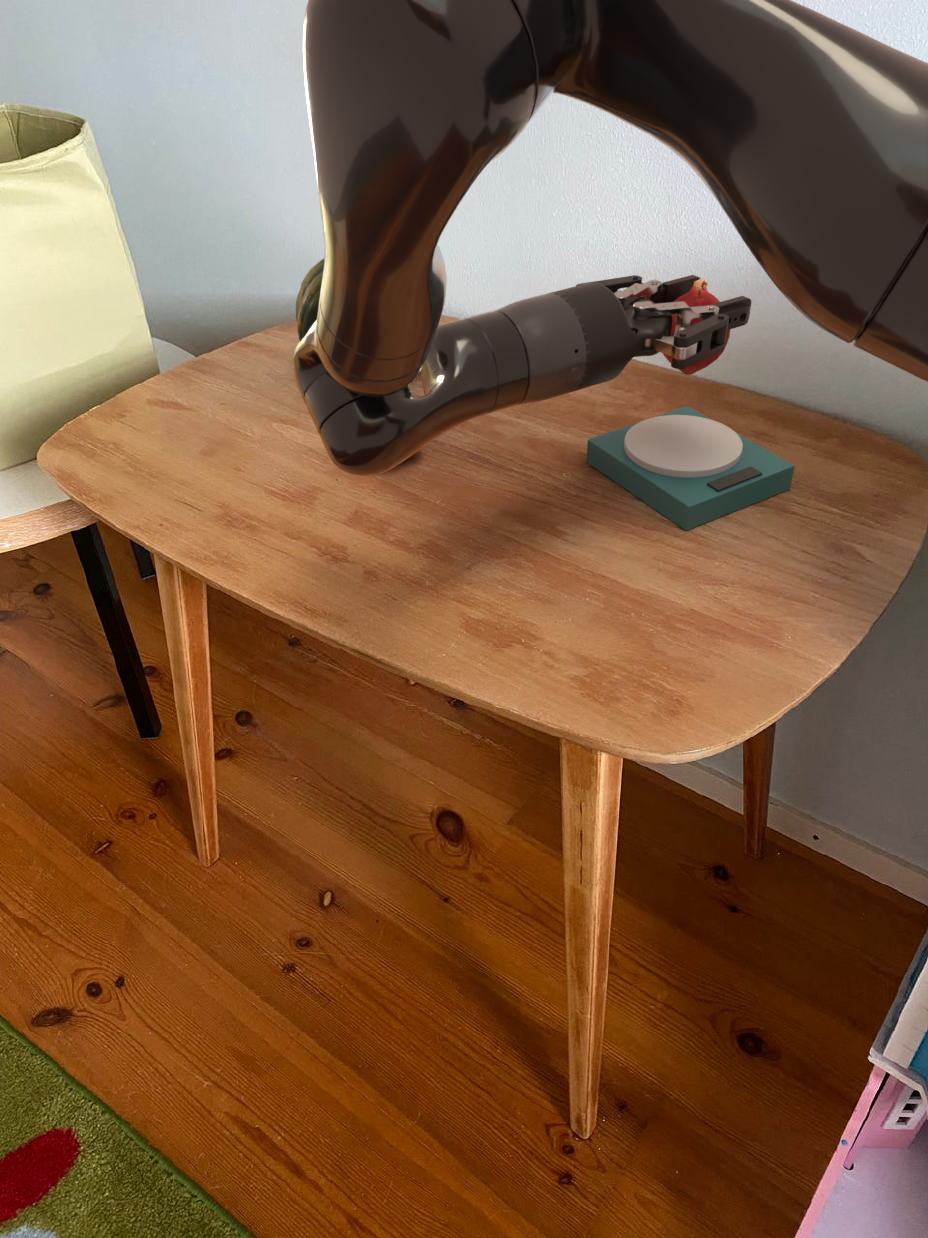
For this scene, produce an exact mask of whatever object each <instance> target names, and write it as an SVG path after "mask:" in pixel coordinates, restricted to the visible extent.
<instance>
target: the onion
mask: <svg viewBox="0 0 928 1238" xmlns="http://www.w3.org/2000/svg"><path fill="white" fill-rule="evenodd" d="M707 286H708V282H707V281H706V280H704V279H702V278H701V279H699V280H697V281H695V282H694V286H693V288H692V289H691V290H690V292H688V293H686V294H684V295H682V296H680V297H679V298H677V299H676V300H675V301H674V302H681V301H683V302H686V303H687V304H688V305H689V307H696V306H708V305H711V304H715V303H718V302H721V301H720V300H719V299H718V298H717V297H716V296H715V295H713V293H711V292H709V291H708V288H707ZM676 319H677V314H674V315H672V329H671V335H670V336H673V335H674V334H675V328H676ZM701 321H702V318H694V319H692V320H691V324H690V326H692V325H694V324H696V323H699V322H701ZM730 336H731V329H730V330H727V336H726V343H725V348H726V347H727V346H728V342H729V340H730ZM724 352H725V349H723V350H721V351H719V352H717V353H715V354H713V355H711V356H709V357H707V358H705V359H703V360H701V361H699V362H697V363H695V364H693V365H691V366H689V367H687V368H684V369H677V370H678V371H680V372H681V373H682V374H683V375H686V376H691V375H694V374H695V373H697V372H700V371H702V370H704V369H705V368H707V367H709V366H710V365H711V364H713V363H714V362H715V361H717V360H718V359H719V358H720V357H721V355H722V354H723V353H724ZM662 355H663V356H664V358H665V359H666V360H667V361H668V363H670V364H671V361H672V356H669V355H666V354H664V353H662Z"/></svg>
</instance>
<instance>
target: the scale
mask: <svg viewBox="0 0 928 1238" xmlns="http://www.w3.org/2000/svg"><path fill="white" fill-rule="evenodd" d="M586 443H587V444H586V463H587V464H588V465H590V466H591V467H593V468H594V469H596V470H597V471H599V472H600V473H601V474H603V475H604V476H606V477H607V478H609V479H610V480H612V481H613V482H614V483H616V484H617V485H619V486H620V487H622V488H623V489H625V490H626V491H627V492H628V493H630V494H632V495H633V496H635V497H636V498H638V499H639V500H641V501H642V502H643V503H645V504H646V505H648V506H649V507H651V508H652V509H653V510H655V511H656V512H658V513H659V514H661V515H662V516H664V517H665V518H667V519H668V520H669V521H671V522H673V524H675V525H677V526H678V527H679V528H681V529H683V530H684V531H689V530H692V529H694V528H697V527H699V526H701V525H704V524H707V523H710V522H712V521H713V520H714V521H715V520H717V519H719V518H722V517H725V516H726V515H727V516H728V515H730V514H731V513H734V512H736V511H739V510H742V509H744V508H747V507H749V506H752V505H754V504H757V503H759V502H762V501H765V500H766V499H769V498H772V497H774V496H777V495H779V494H781V493H785V492H786V491H789V490H790V489H791V487H792V483H793V482H792V481H793V476H794V472H795V471H794V470H795V465H794V464H792V463H791V462H789V461H787V460H786V459H784V458H782V457H780V456H778V455H776V454H775V453H773V452H771V451H769V450H767V449H766V448H764V447H762V446H760V445H759V444H756V443H755V442H753V441H751V440H750V439H748V438H746V437H744V436H742V435H741V434H739V433H737V432H736V431H734V430H733V429H732V428H731V427H729V426H727V425H726V424H724V423H721V422H718V421H716V420H714V419H712V418H710V417H708V416H707V415H705V414H704V413H702V412H700V411H697V410H696V409H694V408H692V407H691V406H689V405H686V406H683V407H680V408H676V409H674V410H671V411H668V412H664V413H661V414H659V415H656V416H654V417H650V418H647V419H644V420H641V421H638V422H635V423H633V424H629V425H627V426H623V427H621V428H618V429H615V430H612V431H609V432H605V433H604V434H603V433H602V434H599V435H597V436H594V437H591V438H589V439H587V441H586Z"/></svg>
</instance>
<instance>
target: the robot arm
mask: <svg viewBox="0 0 928 1238" xmlns="http://www.w3.org/2000/svg"><path fill="white" fill-rule="evenodd" d="M303 22H304V23H303V34H302V57H303V59H302V60H303V75H304V76H303V77H304V88H305V98H306V105H307V107H306V108H307V114H308V120H309V128H310V134H311V135H310V136H311V142H312V149H313V156H314V157H313V158H314V166H315V167H314V168H315V176H316V184H317V192H318V201H319V208H320V215H321V222H322V231H323V233H322V234H323V243H324V256H323V257H324V258H323V259H324V270H323V278H322V285H321V291H320V299H319V307H318V315H317V320H316V321H315V322H314V324H313V325H312V326H311V328H310V329H309V331H308V332H307V334H306V335H305V336H304V338H303V339H302V340H301V341H299V342H298V344H297V345H296V347H295V348H294V351H293V354H292V369H293V375H294V380H295V383H296V386H297V388H298V391H299V393H300V395H301V398H302V400H303V402H304V405H305V406H306V409H307V411H308V413H309V415H310V417H311V419H312V421H313V424H314V426H315V428H316V430H317V433H318V434H319V437H320V440H321V442H322V444H323V446H324V449H325V450H326V453H327V454H328V456H329V458H330V460H331V461H332V463H333V464H334V466H335V467H337V468H338V469H339V470H341V471H343V472H345V473H347V474H350V475H354V476H358V477H372V476H377V475H381V474H384V473H386V472H388V471H390V470H392V469H393V468H396V467H397V466H399V465H401V464H402V463H403V462H404V461H406V460H407V459H409V458H410V457H412V456H413V455H414V454H416V453H417V452H418V451H420V450H421V449H423V448H424V447H426V446H427V445H428V444H430V443H432V442H433V441H435V440H436V439H438V438H439V437H441V436H442V435H444V434H446V433H447V432H450V431H451V430H453V429H455V428H457V427H459V426H460V425H463V424H465V423H467V422H468V421H471V420H474V419H476V418H479V417H482V416H486V415H488V414H491V413H495V412H498V411H502V410H505V409H508V408H512V407H515V406H519V405H523V404H525V405H526V404H532V403H538V402H543V401H547V400H550V399H554V398H557V397H560V396H563V395H566V394H570V393H573V392H574V393H575V392H576V391H580V390H583V389H586V388H590V387H594V386H596V385H600V384H603V383H607V382H610V381H612V380H614V379H616V378H617V377H618V376H619V375H620V374H621V373H622V372H623V371H624V369H625V368H626V367H627V365H628V364H629V363H630V362H631V361H632V359H634V358H640V357H652V356H655V355H658V354H659V353H661V354H663V353H664V354H666V355H669V356H672V361H671V363H670V367H671V368H673V369H676V370H678V369H684V368H687V367H689V366H691V365H693V364H695V363H697V362H699V361H701V360H703V359H705V358H707V357H709V356H711V355H713V354H715V353H717V352H719V351H721V350H723V349H724V350H725V349H726V347H725V343H726V336H727V330H730V331H731V330H733V329H736V328H740V327H743V326H746V325H747V324H748V323H749V319H750V315H751V307H752V299H751V298H749V297H748V296H747V297H746V296H744V295H740V296H736V297H733V298H729V299H725V300H722V301H720V302H718V303H715V304H711V305H708V306H696V307H689V305H688V304H687V303H686V302H683V301H681V302H674V301H675V300H676V299H677V298H679V297H680V296H682V295H684V294H686V293H688V292H690V290H691V289H692V288H693V286H694V282H695V281H697V280H699V279H702V278H701V277H700V276H697V275H695V274H691V275H686V276H683V277H679V278H675V279H670V280H666V281H664V282H662V281H660V280H658V279H651V280H648V281H646V282H643V277H642V276H639V275H636V274H633V275H628V276H627V275H626V276H621V277H614V278H609V279H608V278H607V279H601V280H594V281H589V282H588V281H587V282H581V283H577V284H576V285H574V286H572V287H567V288H564V289H560V290H555V291H552V292H548V293H543V294H539V295H535V296H531V297H527V298H524V299H520V300H517V301H513V302H512V303H509V304H507V305H505V306H502V307H500V308H497V309H494V310H491V311H487V312H482V313H478V314H474V315H471V316H466V317H464V318H463V317H462V318H460V319H455V320H451V321H448V322H443V323H441V324H440V321H441V318H442V315H443V314H442V313H443V311H444V307H445V303H446V298H447V289H448V288H447V285H448V276H447V268H446V261H445V259H444V255H443V253H442V251H441V248H440V246H439V242H440V239H441V236H442V235H443V232H444V231H445V229H446V228H447V226H448V223H449V222H450V220H451V218H452V217H453V215H454V214H455V212H456V210H457V209H458V207H459V206H460V204H461V202H463V199H464V197H465V196H466V195H467V193H468V192H469V190H470V188H471V187H472V186H473V184H474V183H475V182H476V180H477V179H478V178H479V177H480V175H481V174H482V172H483V171H484V170H485V169H486V168H487V167H488V165H490V164H491V163H492V162H493V161H494V160H495V159H497V158H499V157H500V156H501V155H502V154H503V153H504V152H505V151H506V150H507V149H508V148H509V147H510V146H511V145H512V144H513V143H514V142H515V141H516V140H517V139H518V138H519V136H520V135H521V133H522V132H523V131H524V129H526V127H527V126H528V124H529V123H530V122H531V121H532V120H533V118H534V117H535V115H537V113H538V112H539V111H540V109H541V108H542V107H543V105H544V104H545V103H546V102H547V100H548V99H549V98H550V97H551V95H552V94H557V95H562V96H564V97H568V98H571V99H574V100H576V101H579V102H582V103H585V104H587V105H589V106H591V107H594V108H596V109H599V110H600V111H602V112H605V113H608V114H609V115H611V116H613V117H615V118H617V119H619V120H621V121H622V122H625V123H627V124H628V125H630V126H632V127H634V128H636V129H638V130H640V131H642V132H644V133H645V134H648V135H649V136H650V137H652V138H654V139H655V140H656V141H658V142H659V143H661V144H663V145H664V146H666V147H667V148H668V149H669V150H671V151H672V152H673V153H674V154H675V155H677V156H678V157H679V158H680V159H681V160H683V162H685V163H686V164H687V165H688V166H689V167H690V168H691V170H692V171H693V172H694V173H695V174H696V175H697V176H698V177H699V178H700V180H701V182H703V184H704V185H705V187H706V188H707V189H708V190H709V192H710V193H711V195H712V196H713V197H714V198H715V200H716V201H717V202H718V204H719V206H720V207H721V209H722V211H723V212H724V213H725V215H726V216H727V218H728V219H729V221H730V223H731V224H732V226H733V228H734V229H735V230H736V232H737V234H738V235H739V237H740V238H741V240H742V241H743V242H744V244H745V245H746V247H747V248H748V250H749V251H750V253H751V254H752V256H753V257H754V259H755V260H756V261H757V263H758V264H759V266H760V267H761V268H762V269H763V271H764V272H765V274H766V275H767V276H768V277H769V279H770V281H772V283H773V284H774V285H775V287H776V288H777V289H778V290H779V291H780V293H781V294H782V295H783V297H784V298H786V299H787V300H788V302H789V303H790V304H791V305H792V306H793V307H794V308H795V309H796V310H797V311H798V312H799V313H801V314H802V315H803V316H804V317H805V318H806V319H807V320H808V321H810V322H811V323H813V324H814V325H816V326H817V327H818V328H820V329H821V330H823V331H825V332H826V333H829V334H830V335H831V336H834V337H836V339H837V338H838V339H839V340H841V341H843V342H845V343H847V344H851V343H852V345H853V347H855V348H857V349H858V350H861V351H863V352H866V353H867V354H869V355H871V356H873V357H875V358H878V359H880V360H881V361H883V362H886V363H887V364H889V365H892V366H893V367H896V368H897V369H900V370H902V371H904V372H906V373H908V374H910V375H912V376H914V377H916V378H918V379H920V380H922V381H925V382H926V383H928V62H926V61H923V60H921V59H919V58H917V57H915V56H912V55H910V54H907V53H906V52H903V51H901V50H898V49H896V48H894V47H892V46H890V45H888V44H885V43H883V42H881V41H879V40H877V39H876V38H873V37H871V36H869V35H868V34H865V33H862V32H860V31H859V30H856V29H854V28H852V27H850V26H848V25H846V24H844V23H841V22H839V21H837V20H835V19H833V18H832V17H828V16H826V15H824V14H822V13H820V12H818V11H816V10H814V9H812V8H809V7H807V6H805V5H802V4H800V3H798V2H796V1H793V0H307V3H306V7H305V13H304V19H303ZM621 289H623V290H621ZM674 314H677V319H676V328H675V334H674V335H673V336H670V335H671V329H672V315H674ZM694 318H702V321H701V322H699V323H696V324H694V325H692V326H690V324H691V320H692V319H694ZM419 374H420V378H421V384H422V389H423V396H419V397H414V395H413V393H412V390H411V389H410V386H409V385H411V384H412V383H413V382H414V381H415V380H416V378H417V377H418V375H419Z"/></svg>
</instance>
